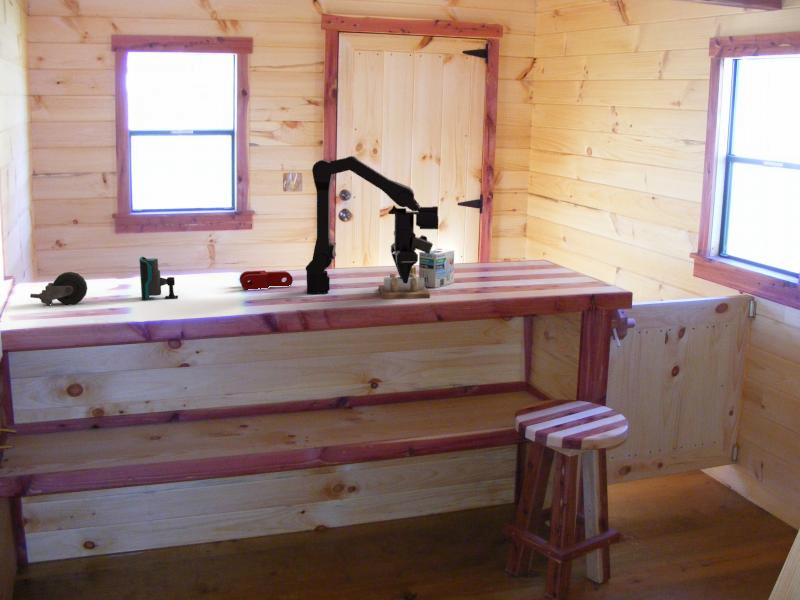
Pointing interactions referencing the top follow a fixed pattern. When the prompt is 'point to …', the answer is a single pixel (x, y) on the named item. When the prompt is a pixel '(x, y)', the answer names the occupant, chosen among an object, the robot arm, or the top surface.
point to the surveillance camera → (153, 279)
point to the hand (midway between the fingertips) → (403, 280)
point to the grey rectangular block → (403, 285)
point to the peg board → (404, 293)
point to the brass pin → (413, 270)
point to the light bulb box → (437, 267)
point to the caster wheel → (64, 289)
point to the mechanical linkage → (264, 279)
